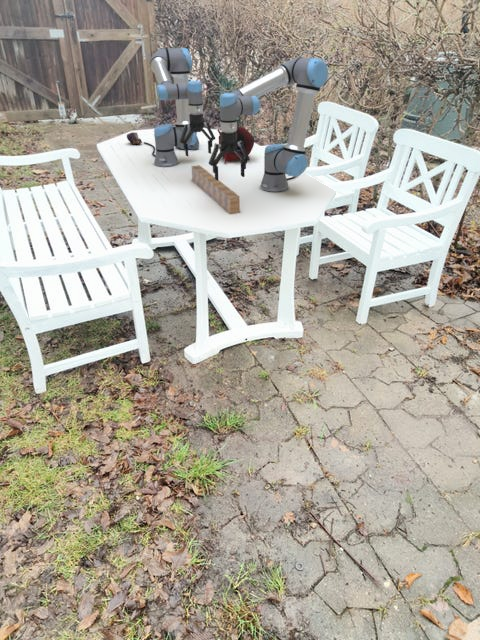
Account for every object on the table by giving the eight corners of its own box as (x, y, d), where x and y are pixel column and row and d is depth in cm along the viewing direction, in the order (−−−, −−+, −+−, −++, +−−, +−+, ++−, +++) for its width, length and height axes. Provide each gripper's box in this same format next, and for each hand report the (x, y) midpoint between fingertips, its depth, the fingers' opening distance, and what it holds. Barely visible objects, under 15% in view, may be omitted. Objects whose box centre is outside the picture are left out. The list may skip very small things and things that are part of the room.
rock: (138, 143, 345) (126, 144, 341) (137, 131, 341) (124, 132, 337) (143, 144, 336) (130, 145, 331) (141, 131, 332) (128, 132, 328)
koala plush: (199, 150, 322) (197, 120, 311) (174, 150, 321) (171, 121, 310) (199, 144, 336) (197, 116, 325) (175, 144, 335) (172, 116, 324)
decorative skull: (215, 132, 306) (215, 129, 282) (249, 124, 305) (251, 121, 281) (222, 164, 313) (222, 164, 289) (255, 157, 312) (258, 156, 288)
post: (192, 179, 266) (191, 166, 261) (200, 178, 267) (199, 165, 263) (230, 213, 221) (229, 197, 216) (239, 212, 222) (239, 196, 218)
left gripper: (175, 116, 234) (179, 158, 246) (220, 112, 243) (221, 153, 255) (171, 114, 240) (175, 155, 252) (215, 110, 248) (216, 150, 260)
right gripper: (205, 135, 198) (208, 183, 210) (256, 130, 206) (256, 176, 219) (200, 132, 204) (202, 179, 216) (250, 127, 212) (249, 172, 224)
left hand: (198, 154), depth 253 cm, fingers open, 13 cm apart
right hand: (229, 177), depth 217 cm, fingers open, 13 cm apart
